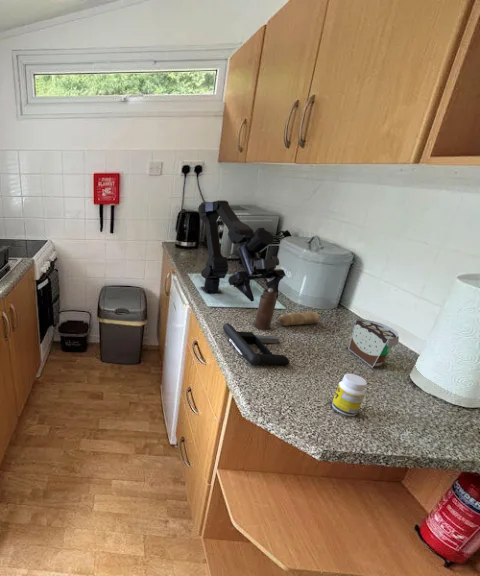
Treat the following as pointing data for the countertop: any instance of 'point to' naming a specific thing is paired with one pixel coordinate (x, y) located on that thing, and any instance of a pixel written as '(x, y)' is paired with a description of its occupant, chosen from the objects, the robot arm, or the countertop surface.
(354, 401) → the supplement bottle
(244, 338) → the door handle
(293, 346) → the countertop surface
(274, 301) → the pepper mill
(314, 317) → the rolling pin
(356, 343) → the food container
